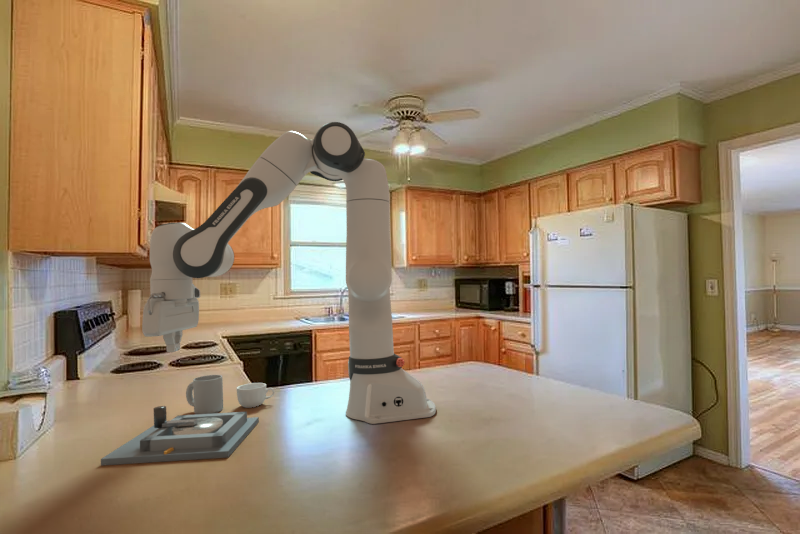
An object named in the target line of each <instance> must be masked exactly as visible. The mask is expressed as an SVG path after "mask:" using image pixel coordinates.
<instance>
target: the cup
mask: <svg viewBox="0 0 800 534" xmlns="http://www.w3.org/2000/svg"><path fill="white" fill-rule="evenodd" d="M223 381H224V380H223V375H221V374H210V375H202V376H198V377H197V376H196V377H195V378H193V379H192V381H191V382H190V383H189V384H188V385H187V388H186V391H185V398H186V402H187V404H188V405H189V406H190V407H193V412H194V415H197V414H214V413H221V411H223V409H224V388H223V387H224V386H223Z"/></svg>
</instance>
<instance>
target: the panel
mask: <svg viewBox="0 0 800 534" xmlns="http://www.w3.org/2000/svg"><path fill="white" fill-rule="evenodd" d="M210 417H213V418H220V419H222V420H223V427H221V428H220V429H219V430H218V431H217V432H216V433H205V434H188V435H172V428H173V427H161V428H154V425H152V426H151V427H149V428H147V429H145V430H144V431H143V432H141V433H139V434H138V435H136V436H135V437H133V438H132V439H130V440H128V441H127V442H126V443H124V444H122V445H120V446H119V447H117V448H116V449H114V450H113V451H111V452H109V453H107V454H106V455H105V456H104V457H102V458H100V466H113V465H127V464H145V463H160V462H161V463H162V462H163V463H164V462H174V461H175V462H176V461H190V460H191V461H192V460H194V461H195V460H206V459H208V460H210V459H223V458H224V459H225V458H230V456H231V455H232V454H233V452H235V450H236V449H237V448H238V447H239V446H240V445H241V444H242V442H243V441H244V440H245V438H247V436H248V435H249V434H250V433H251V432H252V430H253V429H254V428H255V427H257V425H258V424H259V422H260V421H259V420H260V419H259V416H256V417H255V416H254V417H252V416H251V417H248V412H247V411H236V412H235V411H233V412H217V413H214V414H183V415H182V414H181V415H177V416H175V417H173V418H172V419H171V420H169V421H172V420H189V419H199V418H210Z"/></svg>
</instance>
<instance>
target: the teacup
mask: <svg viewBox="0 0 800 534" xmlns="http://www.w3.org/2000/svg"><path fill="white" fill-rule="evenodd" d="M270 390H271V391H272V394H271V395H268V396H267V394H268V392H269V391H270ZM274 395H275V389H274V388H273V387H268V388H267V384H266V383H263V382H252V383H251V382H250V383H245V384H241V385H239V386H236V396H237V397H236V398H237V402H238V404H239V405H240V406H241V407H242V408H245V409H252V407H253V408H257V407H260V406H261V405H262V404H263V403H264V402H265V400H267V399H271V398H272V397H273V396H274ZM259 405H260V406H259ZM256 406H257V407H256Z"/></svg>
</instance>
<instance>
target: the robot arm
mask: <svg viewBox="0 0 800 534" xmlns="http://www.w3.org/2000/svg"><path fill="white" fill-rule="evenodd" d="M365 156H366V153H365V150H364V149H363V147H362V145H361V143H360V141H359V140H358V137H357V135H356V133H354V131H353V130H352V129H351V128H350V127H349V126H348V125H347V124H345V123H344V122H339V121H330V122H327V123H325V124H324V125H322V126H321V127H320V128H319V129H318V130H317V132H316V134H315V135H314V138H313V139H310V138H307V137H306V136H305V135H303V134H301V133H299V132H297V131H293V130H288V131H285V132H284V133H282V134H281V135H280V136H278V137H277V138H276V139H275V140H274V141H272V143H270V144H269V145H268V146H267V147H266V149H264V151H263V152H262V153H261V154H260V155H259V157H257V159H256V160H255V162H254V163H253V164H252V165H251V166H250V168H249V169H248V171H247V173H246V174H245V175H244V177H243V178H242V179H241V180H240V182H239V183H238V185H237V186H236V187H235V189H234V190H233V191H232V192H231V193H229V195H228V196H227V197H226V198H225V199H224V200H223V201H222V203H220V205H218V207H217V208H216V209H215V210H214V211H213V213H211V215H210V216H209V217H208V218H207V219H206V220H205V221H204V222H203V223H201V224H200V225H199V226H198V227H196V228H192V226H190V225H188V224H187V223H185V222H169V223H163V224H160V225H158V226H155V228H154V229H153V230H152V232H151V236H150V241H149V242H150V243H149V263H150V267H151V275H150V277H149V283H150V284H149V285H150V286H149V288H150V289H149V290H150V291H149V292H150V295H149V297H148V298H147V300H146V302H145V304H144V305H143V309H142V310H143V311H142V320H141V321H142V325H141V328H142V329H141V331H142V333H143V336H144V337H147V338H149V337H152V338H153V337H161V336H162V338H163V341H164V344H165V346H166V352H167V353H174V352H177V351H180V350H181V341H182V338H183V335H184V333H183V332H184V331H186V330H189V329H193V328H194V329H195V328H196V327H198V325H199V322H200V303H199V302H200V301H199V299H200V298H201V290H200V289H199V288H198V287H197V286H196V285H195V284H194V283H193V278H194V279H203V278H212V277H213V278H214V277H220V276H222V275H224V274H226V273H227V272H229V271H230V270H231V268H232V267H233V264H234V263H235V252H234V250H233V248H232V246H231V245H230V243H229V242H230V241H231V240H232V239H233V237H234V236H235V235H236V234H237V233H238V232H239V230H241V228H242V227H243V226H244V225H245V224H246V222H247V221H248V220H249V219H250V218H251V217H252V216H253V215H254V214H255V213H257V212H259V211H261V210H264V209H268V208H272V207H273V208H274V207H277V206H278V205H280V204H281V203H282V202H284V200H286V199H287V198H288V197H289V196H290V195H291V194H292V193H293V191H294V190H296V188H297V186H298V185H299V184H300V182H301V181H302V180H303V178H305V176H306V175H307V174H309V173H310V174H312V175H314V176H316V177H320V178H322V179H324V180H326V181H330V182H340V181H343V182H344V185H345V191H346V192H345V193H346V198H345V199H346V203H345V204H346V210H345V211H346V242H345V243H346V245H345V246H346V247H345V285H346V287H347V289H348V291H347V292H348V334H349V335H348V337H349V339H348V340H349V342H348V343H349V356H348V361H347V367H348V368H347V369H348V370H347V371H348V379H349V381H350V382H349V391H348V392H349V393H348V401H347V406H346V411H345V416H346V417H348V418H350V419H353V420H356V421H357V420H358V421H363V422H365V423H368V424H370V425H372V424H373V425H375V424H376V425H377V424H384V423H393V422H400V421H408V420H415V419H422V418H423V419H424V418H431V417H432V416H434V415H435V414H436V412H437V409H436V408H437V407H436V404H435V402H434V401H433V400H432V399H429V398H427V394H426V390H425V387H424V385H423V384H422V382H420V380H419V379H417V378H416V377H414V376H413V375H411V374H410V373H409V372H408V371H406V370H404V369H403V367H404V366H405V359H404V358H403V357H402V356H400V355H399V354H398V355H397V354H396V353H395V352H394V331H393V314H392V303H391V302H392V301H391V285H392V279H393V275H392V273H393V272H392V249H391V247H392V246H391V216H390V215H391V211H390V209H391V206H390V203H391V202H390V200H391V199H390V187H389V181H388V175H387V170H386V167H385V165H384V164H382V162H380V161H378V160H376V159H372V158H365Z"/></svg>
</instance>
